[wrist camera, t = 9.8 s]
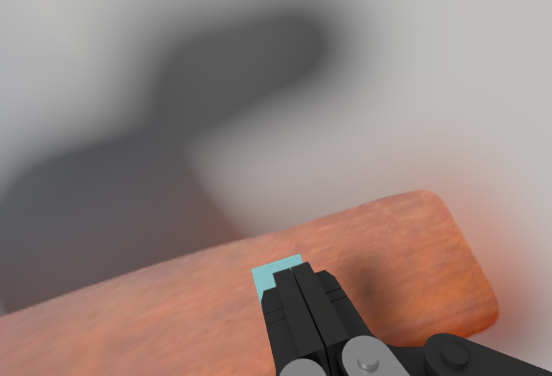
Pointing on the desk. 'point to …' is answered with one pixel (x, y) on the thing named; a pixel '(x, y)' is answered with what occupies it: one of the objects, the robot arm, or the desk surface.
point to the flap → (264, 273)
